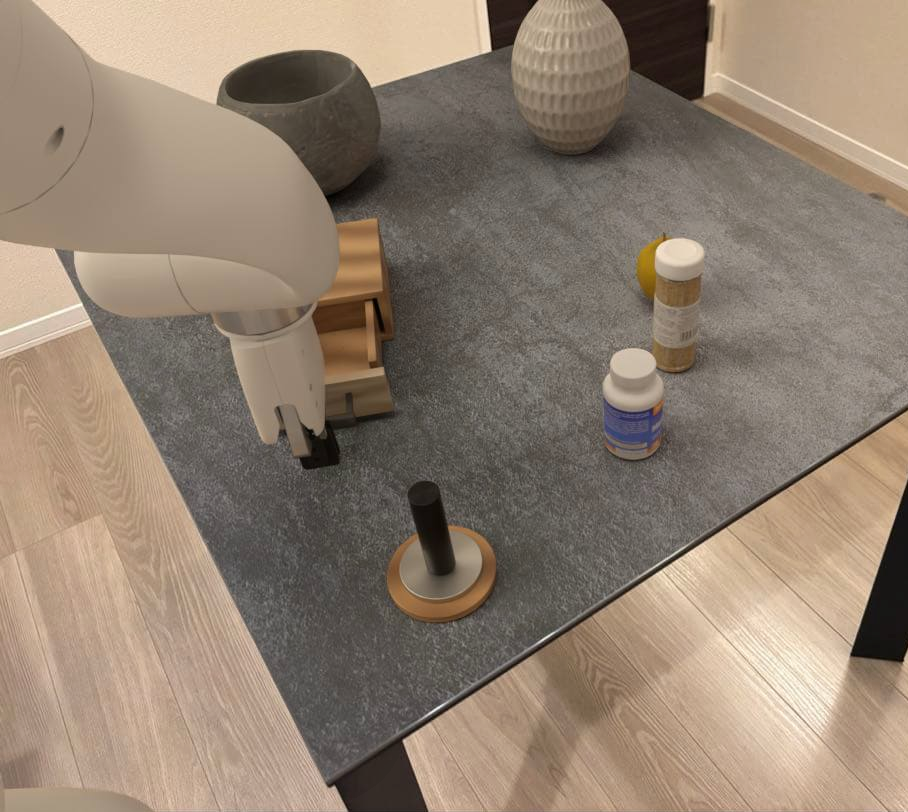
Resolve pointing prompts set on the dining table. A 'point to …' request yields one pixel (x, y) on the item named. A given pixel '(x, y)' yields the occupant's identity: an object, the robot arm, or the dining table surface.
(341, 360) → the drawer
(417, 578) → the rod on disc base
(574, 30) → the vase
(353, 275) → the cabinet
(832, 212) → the dining table surface
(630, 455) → the pill bottle
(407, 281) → the dining table surface
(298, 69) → the bowl
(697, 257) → the sprinkles bottle
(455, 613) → the disc
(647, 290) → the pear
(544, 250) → the dining table surface
